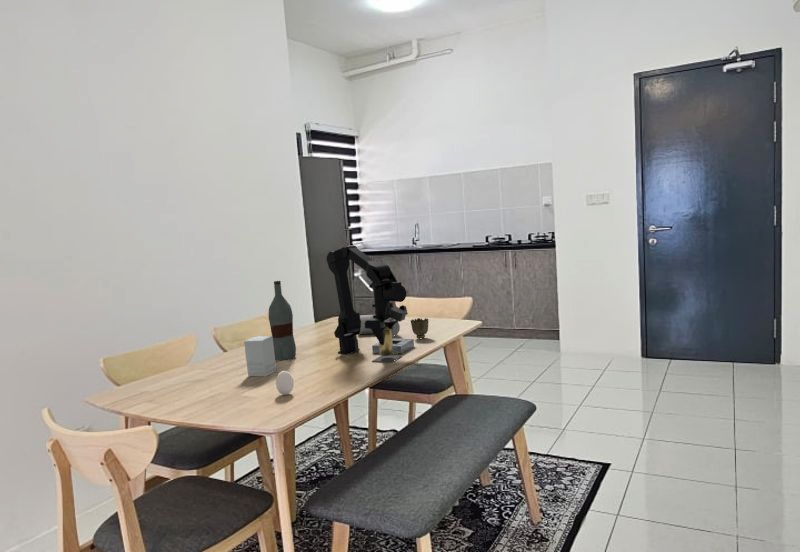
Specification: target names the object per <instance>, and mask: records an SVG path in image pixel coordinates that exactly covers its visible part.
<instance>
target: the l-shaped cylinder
mask: <svg viewBox="0 0 800 552" xmlns="http://www.w3.org/2000/svg"><path fill="white" fill-rule="evenodd" d="M374 315H375V314H366V315H365V314H363V315H361V314H360V320H361V322H362V323H361V328H360V334H359V335H372V334H373V335H375V334H374V333H373V331H372V330H371V329H369V328H365V325H364V323H365V321H366V320H368V319H377V318H373V316H374ZM395 321H396V320H395ZM400 329H401V327H400V323H399V321H398V322H397V323H396V324H395V325H394V327H393V330H392V336H394V335H396V336H397V335H398V334H399V332H400V331H401V330H400Z"/></svg>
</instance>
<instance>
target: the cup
mask: <svg viewBox="0 0 800 552" xmlns="http://www.w3.org/2000/svg"><path fill="white" fill-rule="evenodd" d="M410 325H411V330H412V333H413V334H414V335H415V337H416V339H417V338H424V337H425V338H426V334H427V333H428V330H429V319H428V318H427V317H425V318H421V317H420V318H419V317H418V318H417V319H416V318H412V319H411V320H410ZM425 338H424V339H425Z"/></svg>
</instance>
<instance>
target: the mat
mask: <svg viewBox="0 0 800 552" xmlns="http://www.w3.org/2000/svg"><path fill="white" fill-rule="evenodd" d="M400 357H401V358H403V357H402V355H389V356H381V355H380V356H378V357H376V358H375V359H372V360H371V363H384V362H393V361H394V360H396V359H398V358H399V359H401V358H400ZM399 359H398V360H399ZM396 361H397V360H396ZM394 362H395V361H394ZM394 362H393V363H394Z"/></svg>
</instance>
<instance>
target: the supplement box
mask: <svg viewBox="0 0 800 552" xmlns="http://www.w3.org/2000/svg"><path fill="white" fill-rule="evenodd" d="M243 345H244V352H245V361H246V368H247V376H248V377H267V376H268V375H271V374H273V373H275V372H277V365H276V361H275V354H274V345H273V337H272V335H267V336H266V335H265V336H259V335H258V336H253V337H251V338H248V339H246V340H244V341H243Z"/></svg>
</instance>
